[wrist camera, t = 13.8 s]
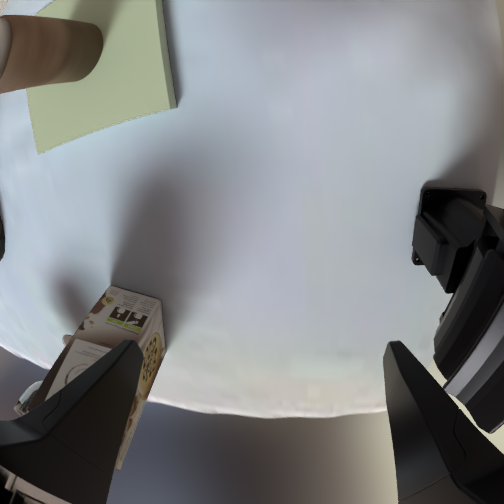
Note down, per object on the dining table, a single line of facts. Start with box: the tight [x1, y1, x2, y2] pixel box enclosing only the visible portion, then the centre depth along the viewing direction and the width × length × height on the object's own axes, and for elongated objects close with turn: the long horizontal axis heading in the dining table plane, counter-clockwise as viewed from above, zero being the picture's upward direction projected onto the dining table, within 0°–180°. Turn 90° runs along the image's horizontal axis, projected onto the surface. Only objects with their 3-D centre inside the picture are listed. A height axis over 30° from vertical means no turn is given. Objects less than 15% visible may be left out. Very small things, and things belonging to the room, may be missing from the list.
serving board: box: [26, 0, 177, 155], centre depth 14 cm, size 14×14×1 cm
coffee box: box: [26, 286, 166, 471], centre depth 22 cm, size 9×6×16 cm
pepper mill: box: [0, 15, 103, 94], centre depth 10 cm, size 5×5×10 cm
